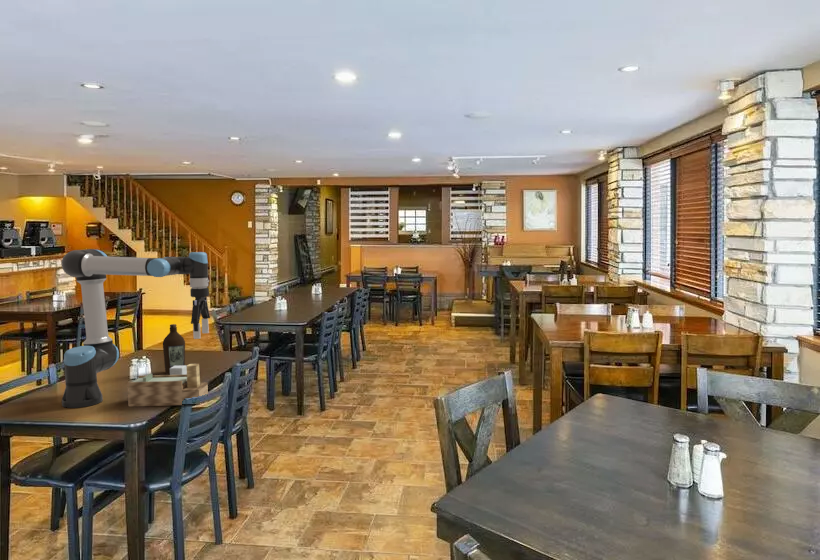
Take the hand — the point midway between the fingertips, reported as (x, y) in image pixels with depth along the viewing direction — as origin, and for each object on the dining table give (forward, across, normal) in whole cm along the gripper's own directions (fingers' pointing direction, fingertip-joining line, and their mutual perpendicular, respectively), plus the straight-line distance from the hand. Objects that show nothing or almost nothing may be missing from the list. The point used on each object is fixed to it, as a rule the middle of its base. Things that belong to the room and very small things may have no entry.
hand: (201, 335), depth 257 cm
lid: (+18, -9, +16) cm, 25 cm away
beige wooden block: (+21, -9, +2) cm, 23 cm away
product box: (+27, +26, +18) cm, 41 cm away
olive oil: (+27, +44, +26) cm, 57 cm away
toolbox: (+26, -9, +12) cm, 30 cm away
